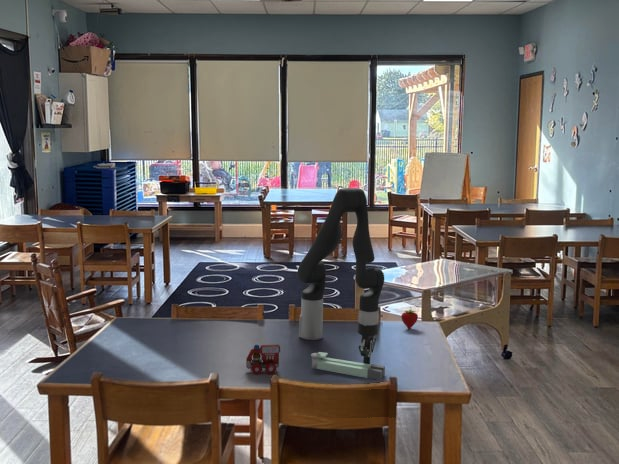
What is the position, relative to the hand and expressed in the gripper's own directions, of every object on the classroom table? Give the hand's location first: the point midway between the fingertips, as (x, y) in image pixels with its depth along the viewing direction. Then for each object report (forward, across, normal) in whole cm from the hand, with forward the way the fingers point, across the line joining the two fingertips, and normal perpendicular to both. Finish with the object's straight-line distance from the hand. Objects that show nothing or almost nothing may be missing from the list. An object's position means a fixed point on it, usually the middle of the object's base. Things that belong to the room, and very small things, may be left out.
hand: (366, 365), depth 265 cm
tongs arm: (+1, +6, -5) cm, 8 cm away
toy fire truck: (+2, +20, -33) cm, 39 cm away
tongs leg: (+1, +8, -5) cm, 9 cm away
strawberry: (+2, -55, 0) cm, 55 cm away
